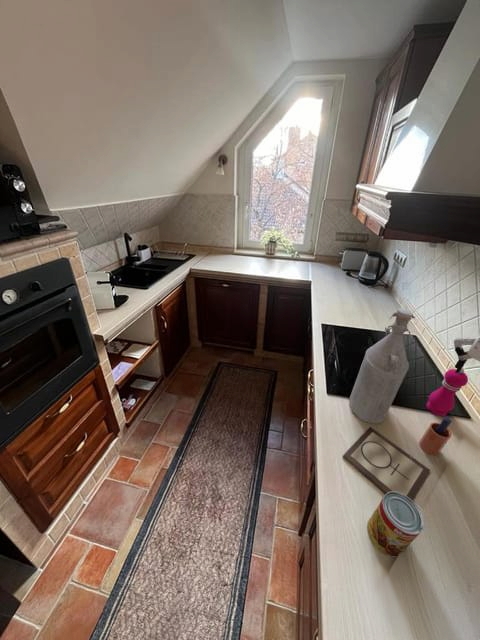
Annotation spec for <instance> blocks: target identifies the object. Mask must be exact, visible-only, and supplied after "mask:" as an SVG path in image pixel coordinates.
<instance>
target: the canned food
mask: <svg viewBox="0 0 480 640" xmlns="http://www.w3.org/2000/svg"><path fill="white" fill-rule="evenodd" d="M424 528H425V517H424V514H423V513H422V511H421V508H420V507H419V506H418V505H417V504H416V502H415V501H414V500H413V501H412V500H411V499H410V498H409V497H407V496H406V495H404V494H402V493H399V492H395V491H391V492H388V493H387V494H385V493H384V496H383V497H382V498H381V500H380V502H379V503H378V504H377V506H376V508H375V509H374V511H373V512H372V514H371V516H370V517H369V519H368V521H367V525H366V529H367V530H366V531H367V534H368V537H369V539H370V541H371V540H372V541H371V543H372V544H373V545H374V547H375V548H376V547H377V548H376V549H377V550H378V551H379V552H381V553H382V552H383V553H382V554H384V553H385V554H384V555H386V556H388V555H389V557H393V556H396V557H398V556H399V555H400V554H402V553H403V552H404V551H405V550H406V549H407V548H409V546H410V545H411V544H412V542H414V540H415V539H416V538H417V537H419V535H420V534H421V533H422V532H423V530H424Z"/></svg>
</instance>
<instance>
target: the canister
mask: <svg viewBox="0 0 480 640" xmlns="http://www.w3.org/2000/svg"><path fill="white" fill-rule="evenodd" d="M394 317H395V321H394V322H393V323H392V324H391V325H388V326H385V328H384V331H385V336H384V337H383V338H382V339H380V340H378V341H377V342H376V343H375V344H373V345H372V346H370V347H368V348H367V349H366V351H365V354H364V357H363V360H362V363H361V365H360V368H359V371H358V373H357V377H356V379H355V382H354V385H353V387H352V391H351V394H350V396H349V400H348V402H349V407H350V410H351V411H352V412H353V414H354V415H355V416H356V417H357V418H358V419H359V420H362V421H364V422H366V423H369V424H380V423H383V422H384V421H385V420H386V417H387V414H388V412H389V410H390V408H391V406H392V404H393V402H394V400H395V398H396V397H397V393H398V392H399V390H400V387H401V385H402V383H403V381H404V379H405V377H406V375H407V373H408V371H409V368H410V364H409V361H408V357H407V351H406V348H405V347H406V346H405V342H404V341H405V340H404V337H403V335H404V333H405V332H408V335H407V336H406V341H409V340H410V339H411V338H413V335H414V334H411V331H410V330H409V329H408V324H409V322H410V321H411V320H412V319H414V320H416V317H415V315H414V313H413V312H412V311H410V310H409V309H405V308H403V307H402V308H401V307H399V308H397V311H396V312H394V313H392V315H391V316H390V318H389V320H391V319H392V318H394ZM414 325H416V323H415V322H414Z"/></svg>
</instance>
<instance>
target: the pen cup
mask: <svg viewBox="0 0 480 640" xmlns="http://www.w3.org/2000/svg"><path fill="white" fill-rule="evenodd" d="M440 423H441V422H431V423H430V424H429V426H428V427H427V429H426V431H425V432H424V434H423V435H422V437H421V438H420V440H419V441H418V444H419V446H420V448H421V450H422V451H424V452H425V453H426V454H428V455H431V456H437V455H439V454H440V453H441V451H443V449H444V447H445V446H446V444H447V443H448V441H449V440H450V439H451V437H452V432H451V431H450V429H449V427H448V428H447V429H446V430H445V432H444V433H443V435H442V436H440V435H438V434H437V433H435V431H436V429H437V428H438V426H439V425H440Z"/></svg>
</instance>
